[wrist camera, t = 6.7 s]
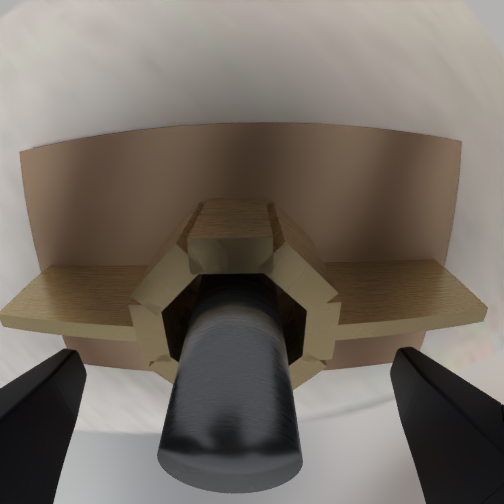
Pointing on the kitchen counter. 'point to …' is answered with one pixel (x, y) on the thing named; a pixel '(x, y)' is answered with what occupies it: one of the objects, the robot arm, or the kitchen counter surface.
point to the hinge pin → (232, 392)
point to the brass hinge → (237, 262)
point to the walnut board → (243, 186)
